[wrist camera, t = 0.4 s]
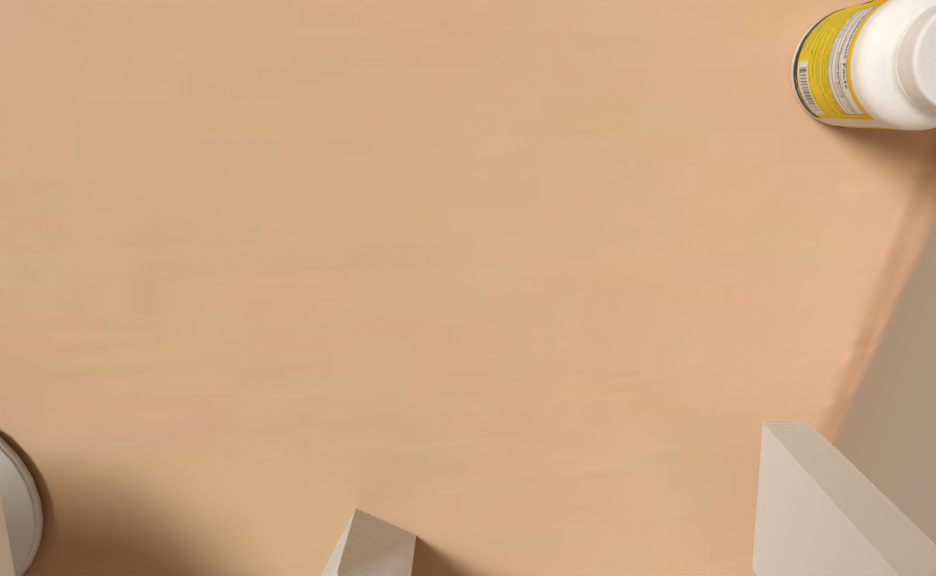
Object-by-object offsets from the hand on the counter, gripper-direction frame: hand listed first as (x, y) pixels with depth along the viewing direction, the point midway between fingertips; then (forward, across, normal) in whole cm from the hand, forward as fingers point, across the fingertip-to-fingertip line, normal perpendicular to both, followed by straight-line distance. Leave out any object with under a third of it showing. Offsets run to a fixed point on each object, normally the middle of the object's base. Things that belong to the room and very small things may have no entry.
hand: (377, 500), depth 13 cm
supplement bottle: (+27, +19, +8) cm, 34 cm away
